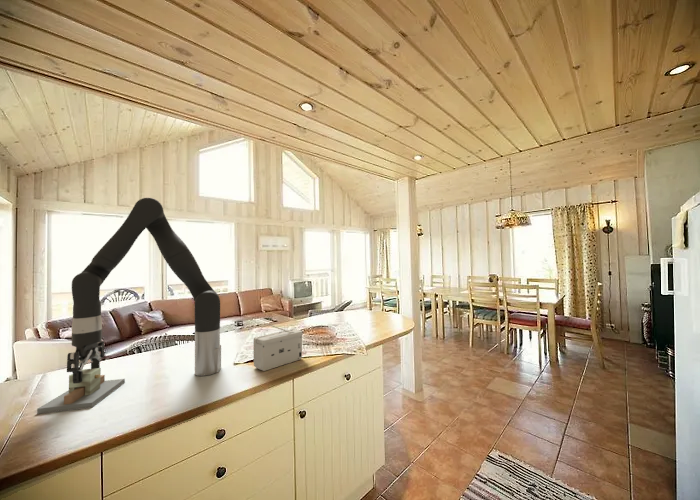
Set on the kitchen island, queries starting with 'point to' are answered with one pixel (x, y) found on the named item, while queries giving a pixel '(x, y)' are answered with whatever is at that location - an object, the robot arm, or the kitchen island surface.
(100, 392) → the cleat board
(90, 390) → the sage block
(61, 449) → the kitchen island surface
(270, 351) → the stereo radio cassette player
